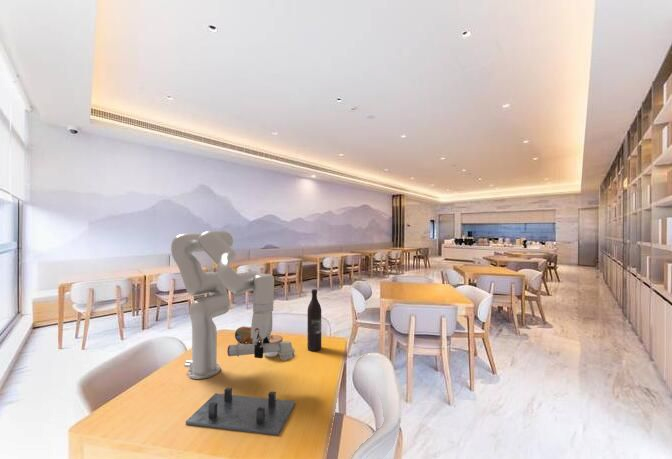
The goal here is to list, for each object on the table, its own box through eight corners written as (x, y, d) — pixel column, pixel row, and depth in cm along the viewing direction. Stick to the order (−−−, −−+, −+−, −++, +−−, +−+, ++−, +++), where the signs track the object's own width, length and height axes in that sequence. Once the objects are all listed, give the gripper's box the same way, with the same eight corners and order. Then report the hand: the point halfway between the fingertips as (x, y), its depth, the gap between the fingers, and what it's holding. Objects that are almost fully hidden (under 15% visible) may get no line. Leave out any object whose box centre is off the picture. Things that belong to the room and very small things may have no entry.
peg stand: (185, 424, 91) (185, 408, 91) (215, 396, 107) (215, 382, 107) (278, 435, 86) (278, 418, 86) (295, 404, 102) (295, 389, 102)
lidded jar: (256, 354, 144) (256, 334, 144) (275, 348, 151) (275, 329, 151) (267, 361, 136) (267, 340, 136) (286, 354, 143) (286, 335, 143)
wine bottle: (310, 352, 145) (310, 291, 145) (305, 347, 152) (305, 289, 152) (323, 350, 148) (323, 290, 148) (318, 345, 154) (318, 288, 155)
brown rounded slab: (234, 342, 159) (234, 327, 159) (237, 340, 162) (237, 325, 162) (260, 344, 156) (261, 328, 156) (263, 342, 159) (263, 326, 159)
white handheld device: (231, 342, 116) (294, 336, 115) (233, 359, 116) (296, 353, 115) (226, 347, 110) (291, 341, 109) (227, 365, 110) (293, 359, 109)
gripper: (263, 300, 122) (262, 344, 122) (243, 312, 105) (242, 363, 105) (280, 302, 120) (279, 346, 120) (263, 313, 103) (261, 365, 103)
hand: (262, 353), depth 113 cm, fingers closed on white handheld device, 5 cm apart
